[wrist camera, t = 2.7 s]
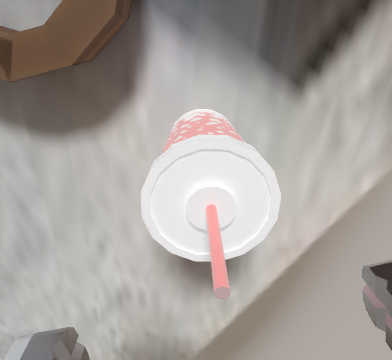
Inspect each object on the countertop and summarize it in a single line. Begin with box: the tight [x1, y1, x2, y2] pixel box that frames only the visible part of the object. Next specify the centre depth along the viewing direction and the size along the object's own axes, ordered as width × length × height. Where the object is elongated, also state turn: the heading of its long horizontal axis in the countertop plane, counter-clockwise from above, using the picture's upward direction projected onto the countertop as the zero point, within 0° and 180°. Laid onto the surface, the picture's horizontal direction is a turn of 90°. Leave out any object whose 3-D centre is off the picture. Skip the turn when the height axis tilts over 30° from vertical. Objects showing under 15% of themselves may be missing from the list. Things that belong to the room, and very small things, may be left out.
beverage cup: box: [141, 109, 281, 299], centre depth 15 cm, size 6×6×14 cm
